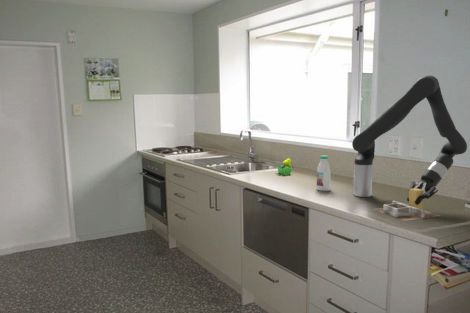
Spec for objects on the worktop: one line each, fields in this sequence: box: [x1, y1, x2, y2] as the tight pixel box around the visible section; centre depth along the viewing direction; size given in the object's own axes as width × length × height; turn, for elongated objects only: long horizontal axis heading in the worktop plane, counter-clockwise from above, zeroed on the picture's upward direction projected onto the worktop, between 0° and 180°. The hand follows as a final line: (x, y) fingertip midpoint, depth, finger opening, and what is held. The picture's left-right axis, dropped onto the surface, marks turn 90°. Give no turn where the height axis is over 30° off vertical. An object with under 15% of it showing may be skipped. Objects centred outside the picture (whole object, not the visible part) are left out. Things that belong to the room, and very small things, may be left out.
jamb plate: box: [373, 200, 441, 222], centre depth 177 cm, size 20×20×4 cm
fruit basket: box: [276, 157, 293, 176], centre depth 277 cm, size 11×9×11 cm
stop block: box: [408, 188, 424, 210], centre depth 178 cm, size 4×4×10 cm
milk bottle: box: [316, 154, 331, 192], centre depth 227 cm, size 8×8×20 cm
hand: (412, 202), depth 177 cm, fingers closed on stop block, 4 cm apart
